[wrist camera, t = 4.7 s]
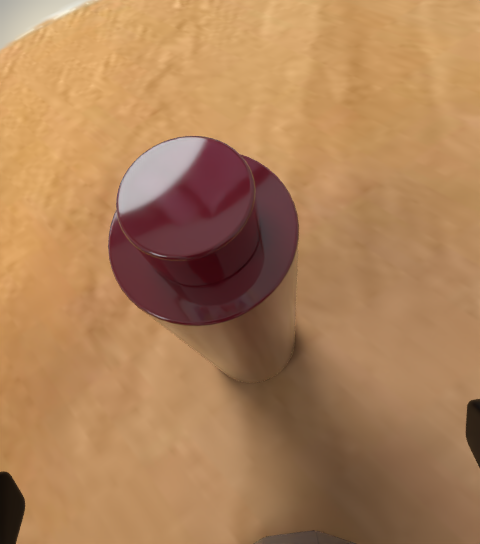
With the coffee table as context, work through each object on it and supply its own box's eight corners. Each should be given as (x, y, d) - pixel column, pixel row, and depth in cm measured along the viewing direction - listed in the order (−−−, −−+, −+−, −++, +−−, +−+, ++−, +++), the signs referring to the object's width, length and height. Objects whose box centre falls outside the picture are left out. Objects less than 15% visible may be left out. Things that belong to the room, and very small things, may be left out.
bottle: (235, 400, 19) (128, 352, 6) (194, 325, 21) (41, 168, 8) (311, 353, 19) (349, 221, 7) (265, 282, 21) (226, 68, 8)
